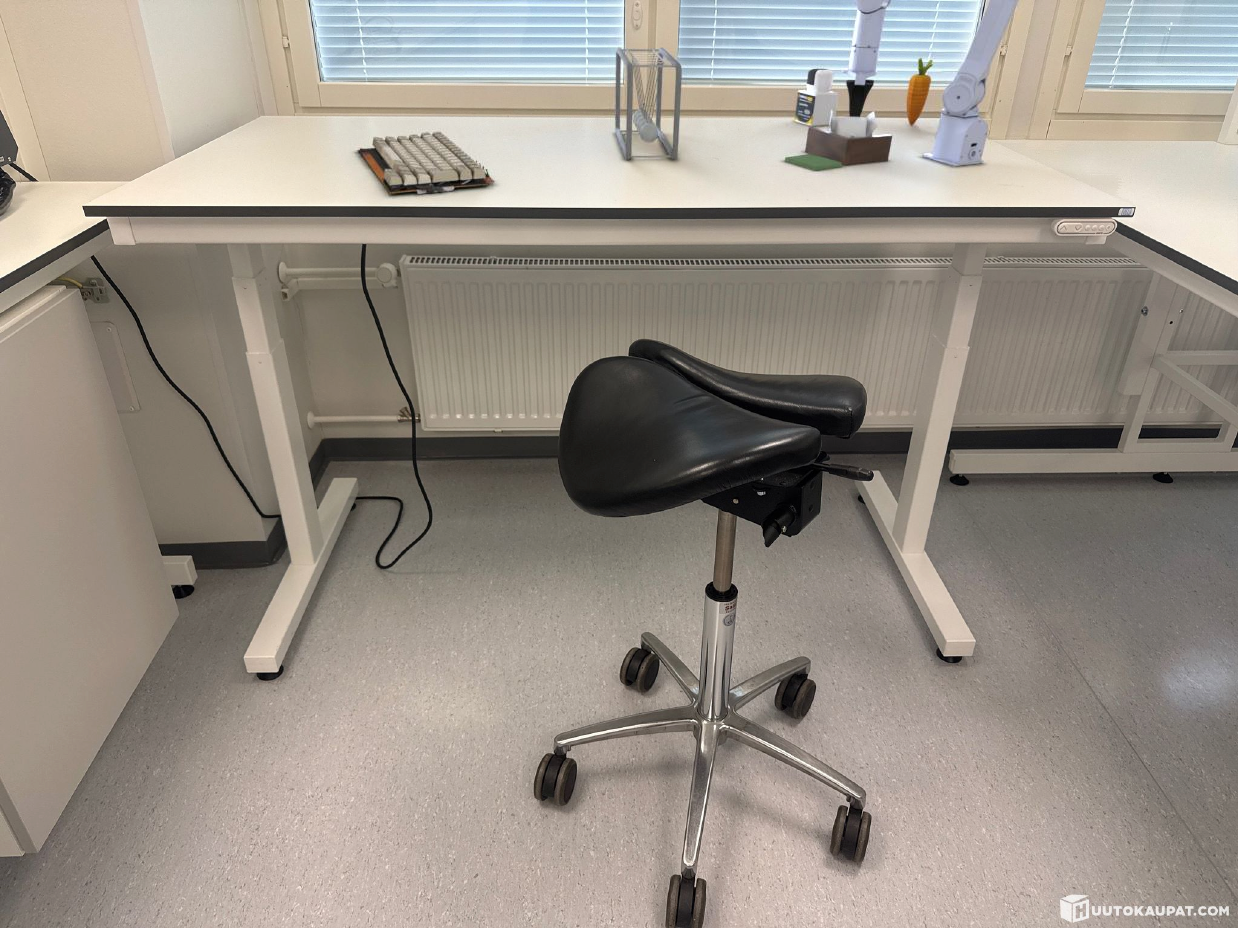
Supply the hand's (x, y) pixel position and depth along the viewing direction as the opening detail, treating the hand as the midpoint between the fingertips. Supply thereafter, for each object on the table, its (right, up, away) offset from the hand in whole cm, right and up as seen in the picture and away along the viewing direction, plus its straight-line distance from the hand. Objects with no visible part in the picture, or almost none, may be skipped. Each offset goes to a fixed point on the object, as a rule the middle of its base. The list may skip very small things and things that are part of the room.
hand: (854, 117), depth 176 cm
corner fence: (-3, -10, -5) cm, 12 cm away
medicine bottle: (-3, +9, +25) cm, 27 cm away
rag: (-12, -14, -12) cm, 22 cm away
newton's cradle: (-45, -6, 0) cm, 46 cm away
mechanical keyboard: (-89, -18, -19) cm, 93 cm away
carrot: (+21, +8, +25) cm, 33 cm away
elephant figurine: (-3, -10, -4) cm, 11 cm away
